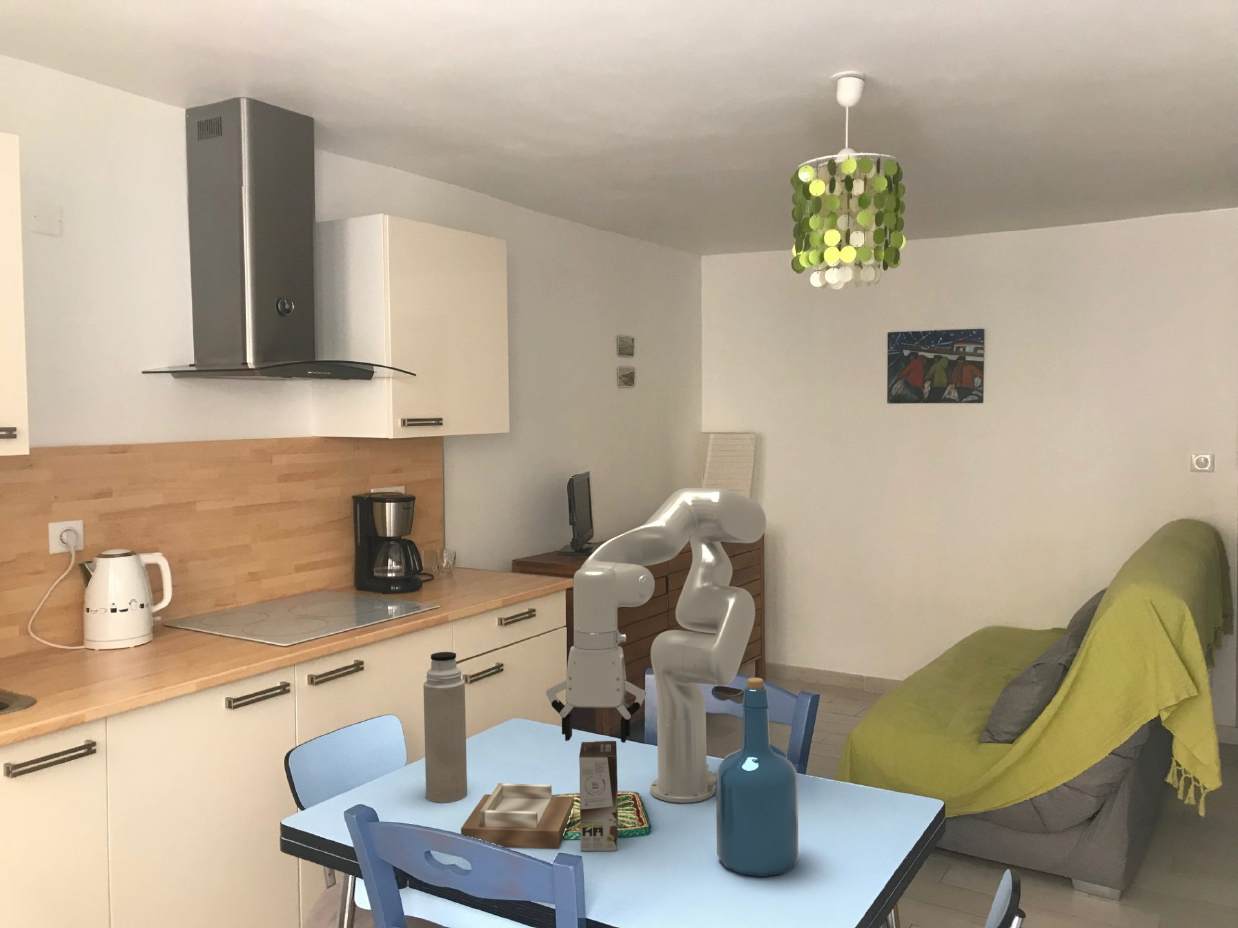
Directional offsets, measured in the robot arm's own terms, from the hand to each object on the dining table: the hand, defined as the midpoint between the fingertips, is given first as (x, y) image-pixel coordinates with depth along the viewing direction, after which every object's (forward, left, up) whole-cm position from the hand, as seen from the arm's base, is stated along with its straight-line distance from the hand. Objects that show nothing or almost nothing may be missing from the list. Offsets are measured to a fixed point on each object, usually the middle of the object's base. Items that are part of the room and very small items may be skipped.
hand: (596, 739), depth 168 cm
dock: (+15, -4, -18) cm, 23 cm away
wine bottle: (-27, +6, -18) cm, 33 cm away
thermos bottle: (+33, -19, -18) cm, 42 cm away
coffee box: (0, 0, -18) cm, 18 cm away
